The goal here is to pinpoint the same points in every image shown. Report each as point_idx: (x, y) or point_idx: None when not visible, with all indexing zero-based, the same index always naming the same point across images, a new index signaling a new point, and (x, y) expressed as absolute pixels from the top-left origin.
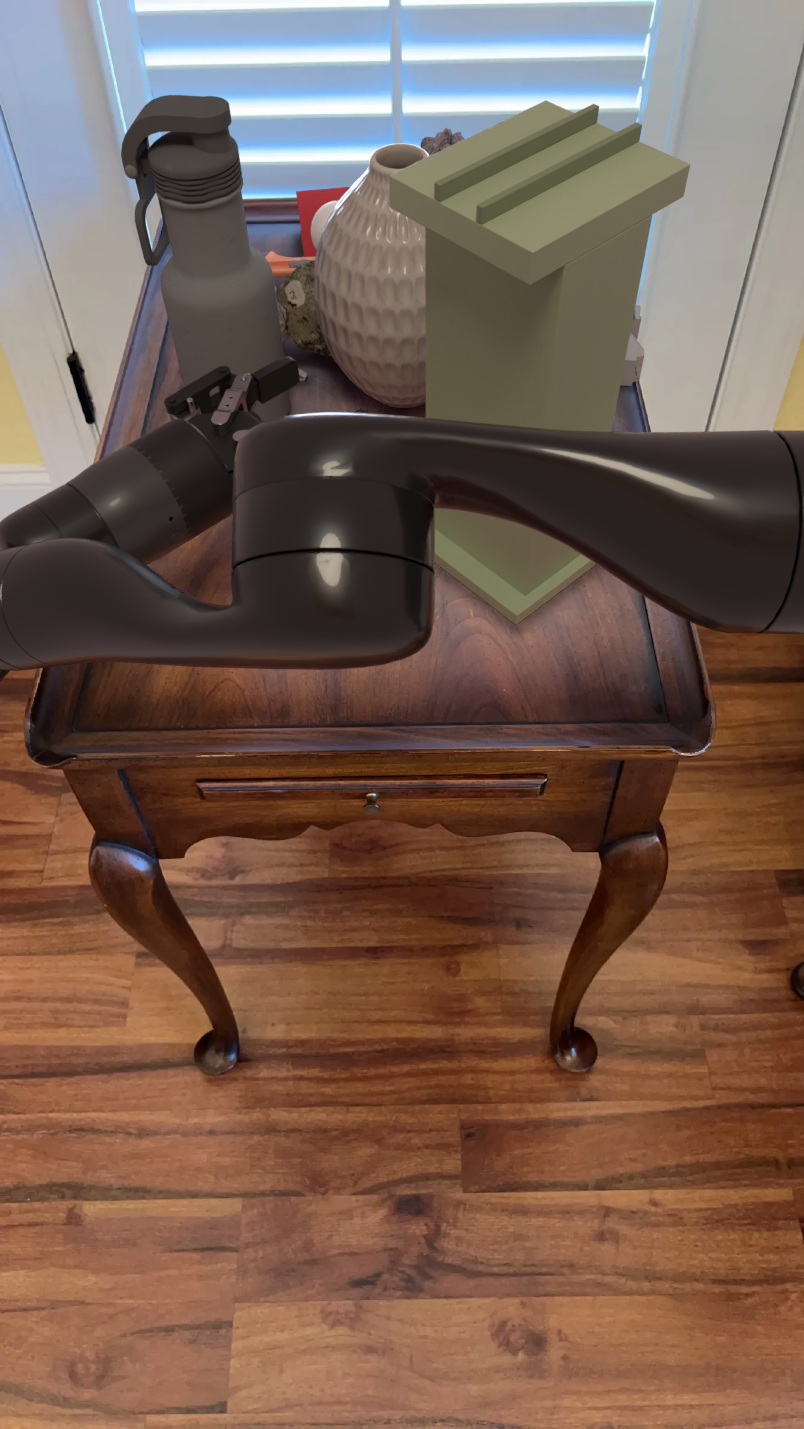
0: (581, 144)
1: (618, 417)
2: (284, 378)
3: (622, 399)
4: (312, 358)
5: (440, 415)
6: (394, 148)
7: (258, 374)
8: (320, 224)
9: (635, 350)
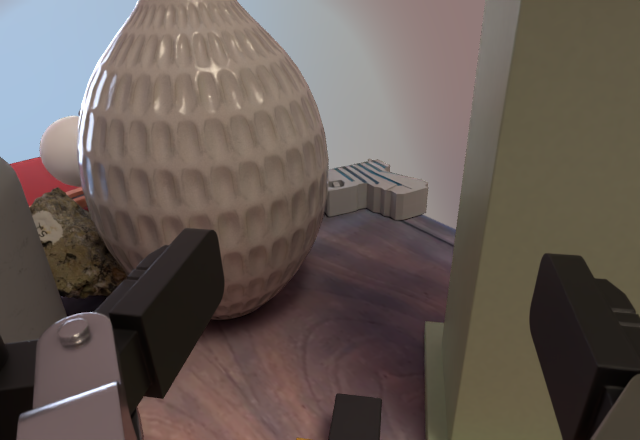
0: None
1: (449, 236)
2: (200, 290)
3: (432, 223)
4: (85, 309)
5: (532, 241)
6: None
7: (129, 301)
8: (56, 140)
9: (416, 182)
